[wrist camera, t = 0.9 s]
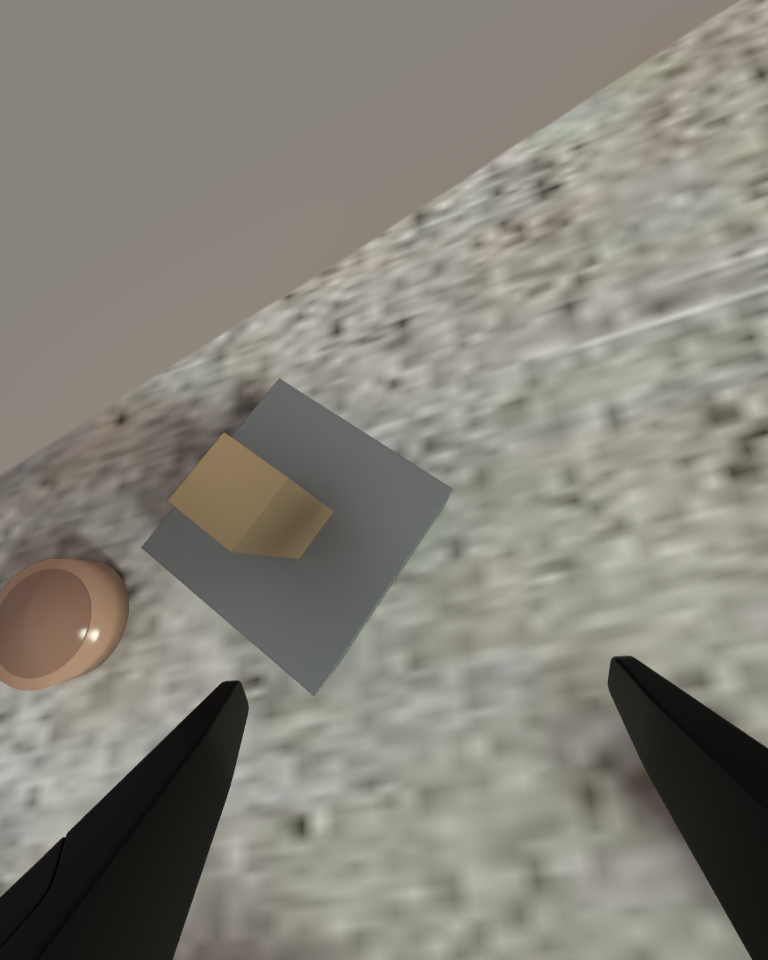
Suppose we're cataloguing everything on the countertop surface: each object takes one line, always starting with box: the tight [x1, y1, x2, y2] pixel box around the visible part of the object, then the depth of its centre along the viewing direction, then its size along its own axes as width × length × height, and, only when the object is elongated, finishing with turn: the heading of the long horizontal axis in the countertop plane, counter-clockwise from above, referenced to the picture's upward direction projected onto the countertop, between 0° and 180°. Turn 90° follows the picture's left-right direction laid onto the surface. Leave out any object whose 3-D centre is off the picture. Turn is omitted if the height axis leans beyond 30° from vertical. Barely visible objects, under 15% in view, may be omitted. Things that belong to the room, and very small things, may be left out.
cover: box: [141, 379, 453, 696], centre depth 18 cm, size 12×12×11 cm
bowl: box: [0, 559, 129, 690], centre depth 21 cm, size 7×7×3 cm
